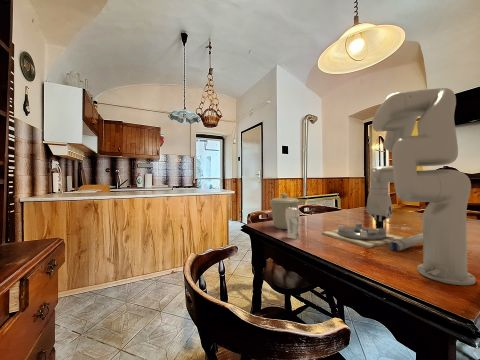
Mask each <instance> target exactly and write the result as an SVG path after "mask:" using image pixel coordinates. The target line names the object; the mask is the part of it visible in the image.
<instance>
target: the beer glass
mask: <svg viewBox="0 0 480 360" xmlns="http://www.w3.org/2000/svg"><path fill="white" fill-rule="evenodd" d="M285 218H286V224H287V229H286V230H287V234H286V238H287V239H290V240H298V239H300V235H299V226H300V208H299V207H298V208H296V207H288V208H286V212H285Z"/></svg>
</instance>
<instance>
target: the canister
mask: <svg viewBox="0 0 480 360" xmlns="http://www.w3.org/2000/svg"><path fill="white" fill-rule="evenodd" d="M269 203H270V208H271V214H272V215H271V216H272V222H273V225H274V227H275V228H276V229H279V230H287V224H286V218H285V212H286V208H288V207H296V208H299V203H300V200H299V199H298V198H296V197H288V194H287V193H285V192H283V193H281V197H274V198H271V200H269Z"/></svg>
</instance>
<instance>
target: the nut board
mask: <svg viewBox="0 0 480 360" xmlns="http://www.w3.org/2000/svg"><path fill="white" fill-rule="evenodd" d="M321 235H323V236H326V237H330V238H334V239H336V240H339V241H343V242H346V243H350V244H351V245H352V244H353V245H355V246H359V247H362V248H366V249H369V248H375V247H379V246H383V245H389V244H390V243H391V242H393V241H395V240H396V239H402V238H406V237H407V236H406V237H405V236H401V235H396V234H392V233H387V232H386V238H385V239H381V240H360V239H353V238H348V237H344V236H342V235H340V234H338V229H333V230H328V231H327V230H325V231H321Z"/></svg>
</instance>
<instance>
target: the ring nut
mask: <svg viewBox="0 0 480 360" xmlns="http://www.w3.org/2000/svg"><path fill="white" fill-rule="evenodd" d="M337 225H338V224H337ZM362 226H363V224H362V222H355V226H344V224H343V225H341V224H339V225H338V226H337V230H338V234H340V235H342V236H344V237H348V238H353V239H360V240H381V239H385V238H386V233H387V228H386V227H378V229H376V228H372V227H371V228H370V227H362Z"/></svg>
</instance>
